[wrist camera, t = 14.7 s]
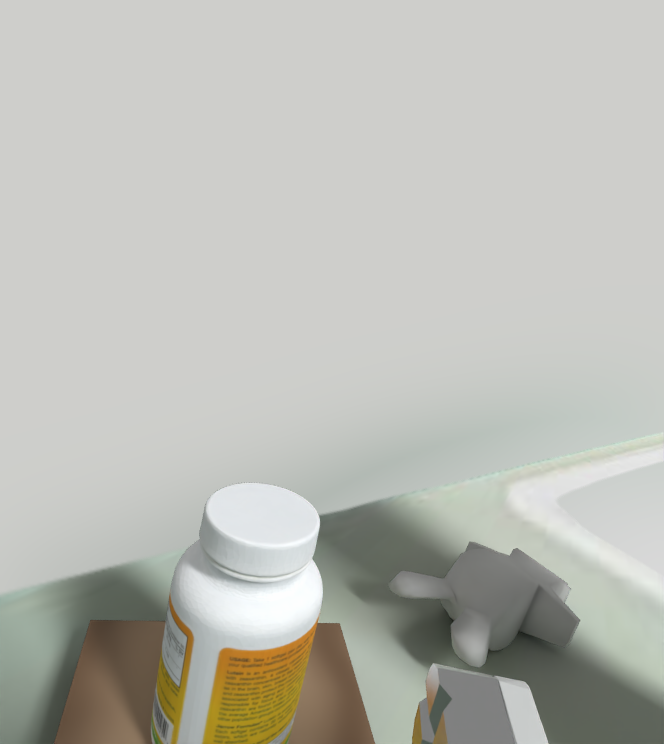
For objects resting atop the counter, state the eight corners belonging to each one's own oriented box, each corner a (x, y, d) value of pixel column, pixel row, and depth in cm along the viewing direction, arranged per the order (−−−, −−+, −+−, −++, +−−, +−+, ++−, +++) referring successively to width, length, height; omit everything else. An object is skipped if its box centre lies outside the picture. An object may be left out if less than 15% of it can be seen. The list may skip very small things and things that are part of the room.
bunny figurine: (614, 594, 38) (500, 636, 29) (587, 652, 39) (468, 711, 30) (508, 523, 45) (388, 538, 36) (487, 573, 46) (365, 601, 37)
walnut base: (331, 656, 32) (339, 623, 32) (392, 897, 21) (407, 854, 20) (86, 657, 29) (90, 620, 28) (4, 948, 17) (7, 898, 17)
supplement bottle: (309, 705, 26) (360, 504, 23) (247, 831, 20) (305, 585, 17) (201, 650, 28) (235, 457, 25) (116, 752, 22) (147, 516, 19)
